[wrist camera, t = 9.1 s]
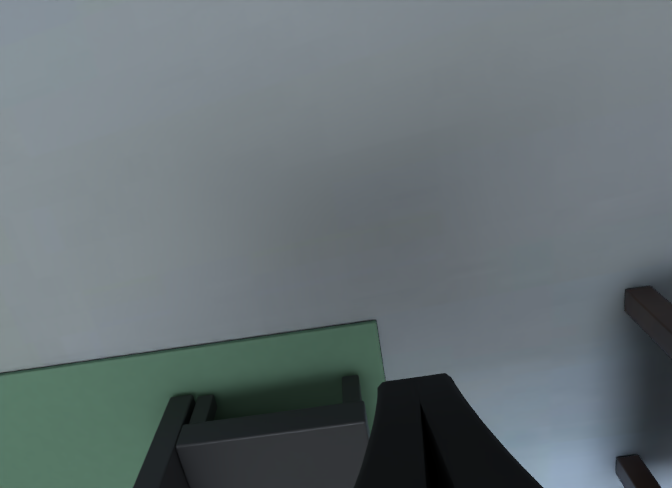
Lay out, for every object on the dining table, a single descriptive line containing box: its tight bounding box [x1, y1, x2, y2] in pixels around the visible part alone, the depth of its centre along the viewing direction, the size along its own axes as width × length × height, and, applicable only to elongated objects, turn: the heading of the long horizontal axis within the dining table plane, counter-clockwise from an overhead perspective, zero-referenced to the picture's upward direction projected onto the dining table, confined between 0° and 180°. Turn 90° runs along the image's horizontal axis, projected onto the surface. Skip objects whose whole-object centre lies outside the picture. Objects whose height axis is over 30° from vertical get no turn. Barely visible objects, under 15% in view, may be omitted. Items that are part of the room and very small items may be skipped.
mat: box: [0, 320, 385, 488], centre depth 25 cm, size 35×10×1 cm, turn 99°
